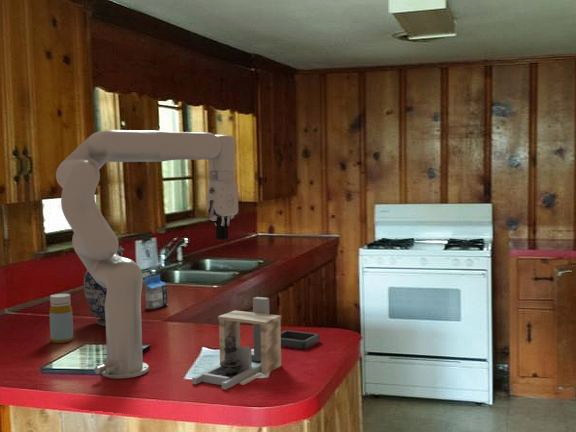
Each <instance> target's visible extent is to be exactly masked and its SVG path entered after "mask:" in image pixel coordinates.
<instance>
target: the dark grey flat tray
mask: <svg viewBox="0 0 576 432" xmlns="http://www.w3.org/2000/svg"><path fill="white" fill-rule="evenodd" d="M320 336H321V335H320V333H313V332H312V333H311V332H303V331H298V330H297V331H296V330H288V329H285V330H284V331H282V332H281V346H284V347H283V348H287V347H292V348H291V349H295V348H298V349H297V350H302V349H305V350H307V349H309V348H311V347H313V346H314V345H313V344H315V343H317V342H319V341H320V340H321V339H320ZM319 343H320V342H319ZM317 344H318V343H317ZM312 345H313V346H312ZM315 345H316V344H315ZM310 346H311V347H310ZM308 347H309V348H308Z"/></svg>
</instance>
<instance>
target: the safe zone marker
mask: <svg viewBox="0 0 576 432" xmlns="http://www.w3.org/2000/svg"><path fill="white" fill-rule="evenodd" d="M261 376H263V373H261V372H258V373H256V374H255V375H253V376H251V377H249V378H247V379H245V380H243V381H241V382H239V385H242V386H244V385H247V384H248V383H250V382H252V381H254V380H255V379H257V378H259V377H261Z"/></svg>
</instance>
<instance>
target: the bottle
mask: <svg viewBox="0 0 576 432" xmlns="http://www.w3.org/2000/svg"><path fill="white" fill-rule="evenodd" d="M49 301H50V307H49V313H48V314H49V331H50V333H49V334H50V341H51V342H52V343H54V344H66V343H70V342H72V340H73V339H74V322H73V320H74V319H73V307H72V305H71V294H70V293H56V294H50V296H49Z"/></svg>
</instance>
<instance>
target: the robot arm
mask: <svg viewBox="0 0 576 432" xmlns="http://www.w3.org/2000/svg"><path fill="white" fill-rule="evenodd" d="M235 145H236V144H235V138H234V137H233V136H232V135H228V134H214V133H212V132H193V131H191V132H189V131H185V132H184V131H180V132H179V131H165V130H164V131H163V130H131V129H129V130H126V129H125V130H124V129H121V130H120V129H110V130H109V129H108V130H107V129H106V130H101V131H100V130H99V131H96V132H94V133H92V134H91V135H89V136H88V137H87V138H86V139H85V140H84V141H83V142H82V143H81V144H80V145H79V146H77V148H76V149H74V150H73V151H72V152H71V153H70V154H69V155H68V156H67V157H66V158H65V159H64V160H62V162H61V163H60V164H59V165H58V167H57V169H56V173H55V177H56V178H55V179H56V182H57V184H58V185H59V187H60V188H62V190H61V195H60V196H61V198H60V199H61V201H60V205H61V211H62V213H63V217H64V218H65V220H66V222H67V223H68V225H69V226H70V228H71V230H72V232H73V234H72V238H71V239H72V240H71V243H72V247H73V249H74V252H75V253H76V255H77V257H78V258H79V260H80V261H81V262H82V264H83V265H84V267H85V268H86V271H87V270H88V271H89V273H90V274H91V276H92V277H93V278H94V280H95V281H96V282H97V283H98V284H99V285H101V286H102V287H105V288H107V294H106V300H105V319H106V326H105V338H106V339H105V341H106V358H104V359H103V360H104V361H103V362H104V363H102V364H100V365H98V366H95V367H94V370H93V371H94V373H95V375H96V374H97V375H99V374H101V375H102V376H103V377H105V378H109V379H115V380H117V379H122V380H123V379H130V378H136V377H140V376H143V375H145V374H146V373H148V372H149V370H150V366H149V364H148V363H146V362H144V361H143V358H144V357H143V330H142V329H143V328H142V306H141V305H142V300H141V299H142V289H143V279H144V278H143V272H142V269H141V267H140V266H139V264H137V262H135V261H134V260H133V259H130V258H127V257H120V256H119V255H118V253H117V250H118V245H119V238H118V237H117V235H116V233H115V232H114V229H112V228H111V227H110V224H109V223H108V222H107V220H106V218H105V217H104V216H103V213H102V212H101V211H100V208H99V206H98V205H97V203H96V202H97V201H96V195H95V194H96V189H97V187H98V185H99V183H100V179H101V177H100V176H101V173H100V169H101V168H102V167H103V166H104V165H105V164H106V163H133V162H135V163H139V162H140V163H144V162H146V163H152V162H153V163H154V162H168V161H180V160H181V161H182V160H189V161H190V160H193V161H199V160H200V161H201V160H202V161H204V160H206V161H207V160H208V177H209V178H208V187H207V194H206V195H207V196H206V211H207V212H206V213H207V214H208V215H209V220H210V221H213V222H214V226H215V234H216V236H215V237H216V240H228V239H229V226H230V221H231V220H232V219H234V218H235V215H237V214H238V213H239V196H238V188H237V187H238V186H237V183H236V181H235V176H236V175H235V170H236V169H235V168H236V167H235V162H236V159H235V157H236V156H235V154H236V153H235Z"/></svg>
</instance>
